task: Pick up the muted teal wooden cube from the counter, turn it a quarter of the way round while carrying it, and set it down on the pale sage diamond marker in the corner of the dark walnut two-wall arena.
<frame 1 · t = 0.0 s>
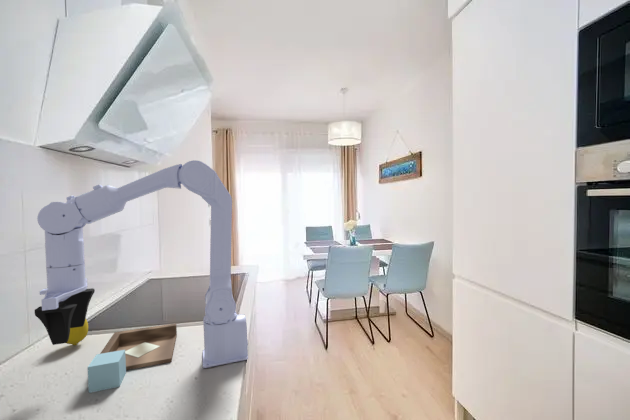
hand: (69, 334, 58), 10 cm above the worktop, tool pointing down, fingers open, 7 cm apart
arena: (141, 353, 70), on the worktop
cube: (108, 382, 59), on the worktop
lemon: (75, 346, 75), on the worktop
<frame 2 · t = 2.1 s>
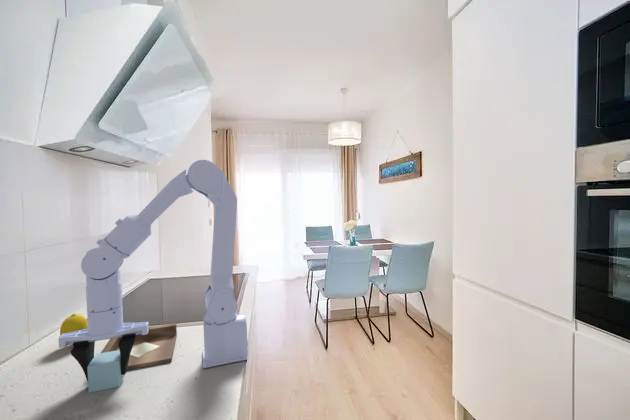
hand: (108, 375, 59), 1 cm above the worktop, tool pointing down, fingers closed on cube, 5 cm apart
cube: (108, 382, 59), on the worktop, touching gripper
everything else where it was.
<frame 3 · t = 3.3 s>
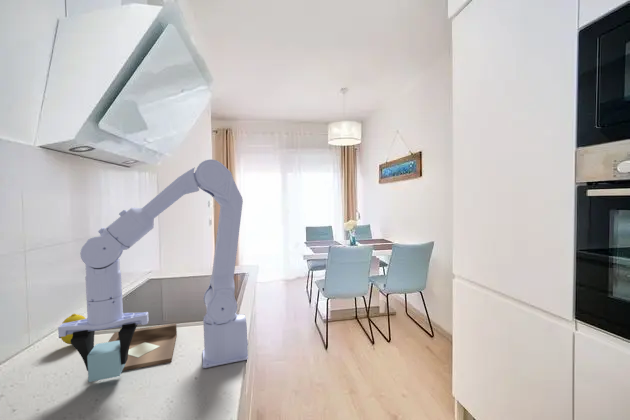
hand: (107, 364, 59), 3 cm above the worktop, tool pointing down, fingers closed on cube, 5 cm apart
cube: (108, 372, 59), point 2 cm above the worktop, touching gripper
everything else where it was.
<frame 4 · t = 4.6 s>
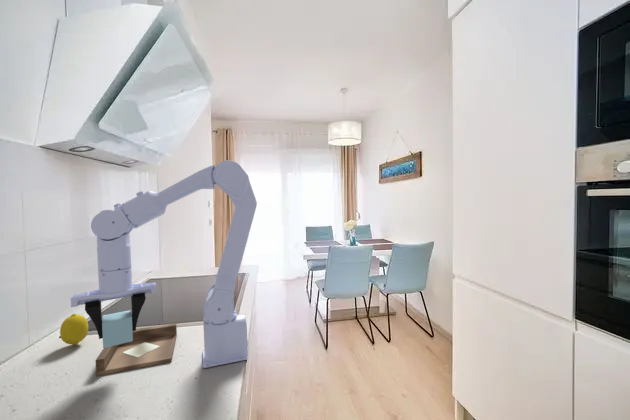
hand: (117, 333, 62), 8 cm above the worktop, tool pointing down, fingers closed on cube, 5 cm apart
cube: (118, 339, 62), point 7 cm above the worktop, touching gripper
everything else where it was.
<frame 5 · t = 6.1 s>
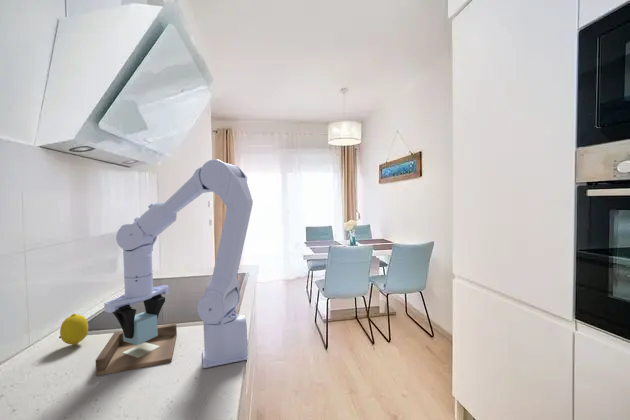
hand: (140, 332, 70), 5 cm above the worktop, tool pointing down, fingers closed on cube, 5 cm apart
cube: (140, 338, 70), point 4 cm above the worktop, touching gripper
everything else where it was.
when the fingers open (4 cm above the worktop, at t = 7.4 s): cube drops 1 cm, resting on arena.
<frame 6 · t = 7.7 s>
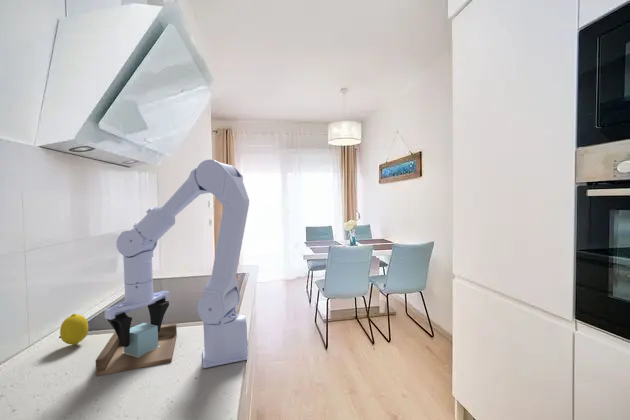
hand: (141, 338, 70), 4 cm above the worktop, tool pointing down, fingers open, 7 cm apart
cube: (141, 349, 70), point 1 cm above the worktop, touching arena
everything else where it was.
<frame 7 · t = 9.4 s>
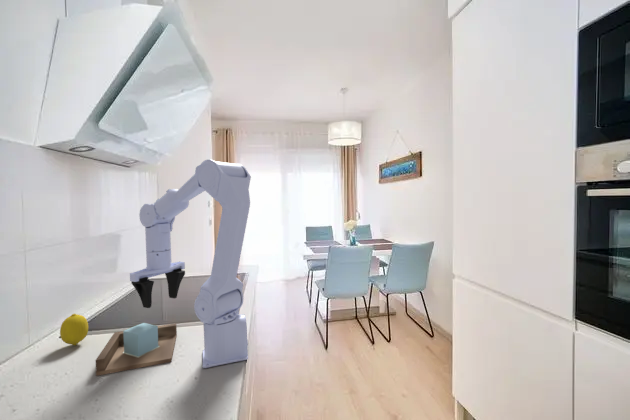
hand: (160, 302, 78), 9 cm above the worktop, tool pointing down, fingers open, 7 cm apart
nothing on the worktop moved.
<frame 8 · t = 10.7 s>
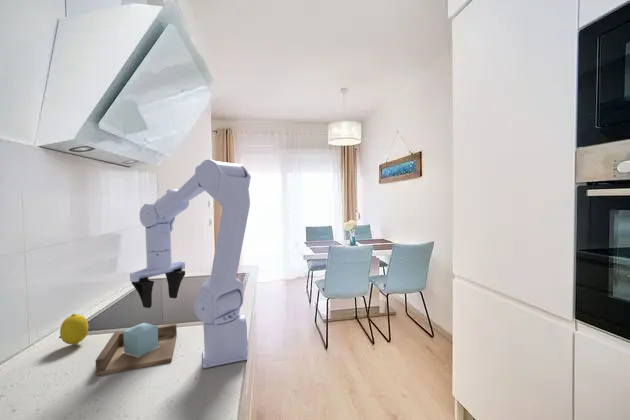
hand: (160, 302, 78), 9 cm above the worktop, tool pointing down, fingers open, 7 cm apart
nothing on the worktop moved.
at the end: cube 0.0 cm from the arena (horizontally); cube touching arena; the gripper is holding nothing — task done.
